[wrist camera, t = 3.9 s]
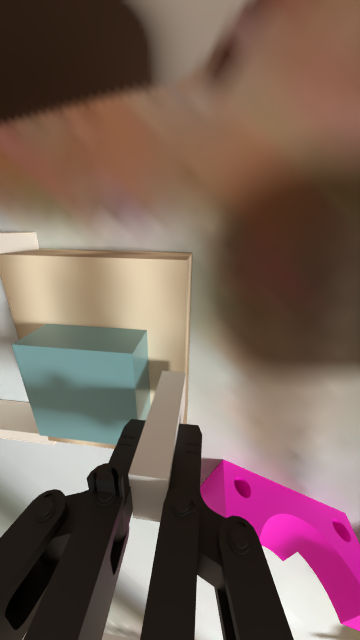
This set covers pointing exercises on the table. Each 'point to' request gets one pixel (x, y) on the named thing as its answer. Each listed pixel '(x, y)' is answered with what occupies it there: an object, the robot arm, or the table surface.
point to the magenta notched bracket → (293, 530)
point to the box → (14, 415)
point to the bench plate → (106, 300)
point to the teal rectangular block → (85, 380)
